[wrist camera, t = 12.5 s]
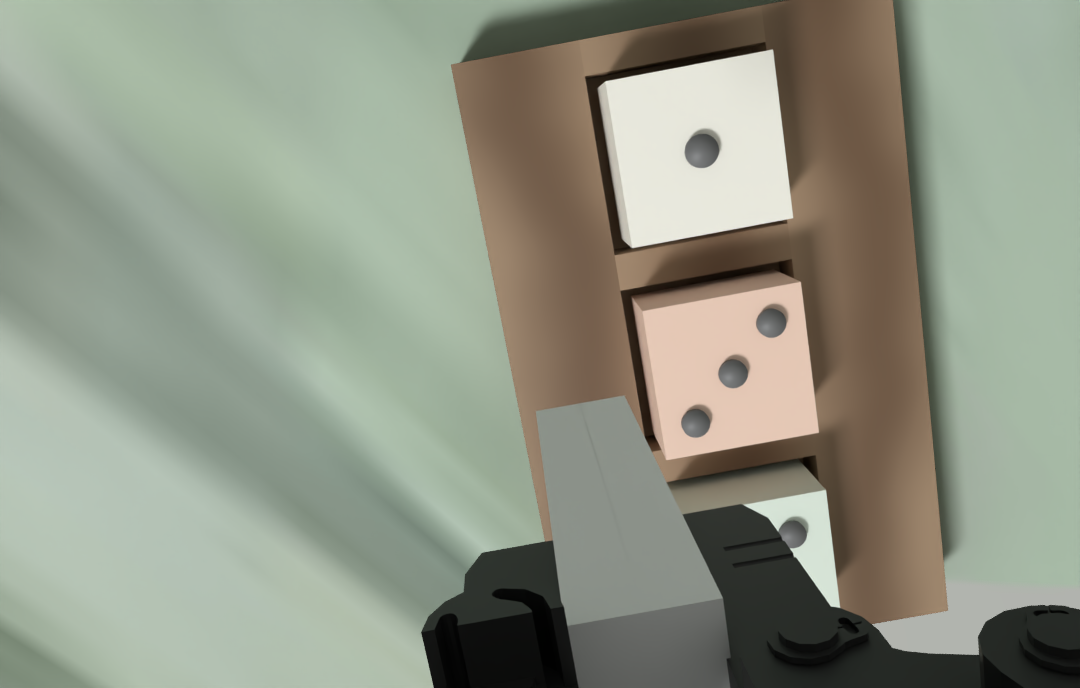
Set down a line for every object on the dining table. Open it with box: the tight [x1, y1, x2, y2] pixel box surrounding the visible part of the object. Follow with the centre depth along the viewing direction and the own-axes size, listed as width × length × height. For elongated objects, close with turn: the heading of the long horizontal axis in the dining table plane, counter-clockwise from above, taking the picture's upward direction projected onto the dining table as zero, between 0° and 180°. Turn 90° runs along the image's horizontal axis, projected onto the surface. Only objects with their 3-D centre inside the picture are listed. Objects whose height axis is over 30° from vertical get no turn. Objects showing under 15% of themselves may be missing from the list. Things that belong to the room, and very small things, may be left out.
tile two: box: [667, 459, 840, 608], centre depth 30 cm, size 5×5×3 cm
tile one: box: [597, 50, 793, 248], centre depth 27 cm, size 5×5×3 cm
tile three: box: [631, 269, 819, 460], centre depth 29 cm, size 5×5×3 cm
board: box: [451, 0, 948, 624], centre depth 31 cm, size 14×22×2 cm, turn 10°
